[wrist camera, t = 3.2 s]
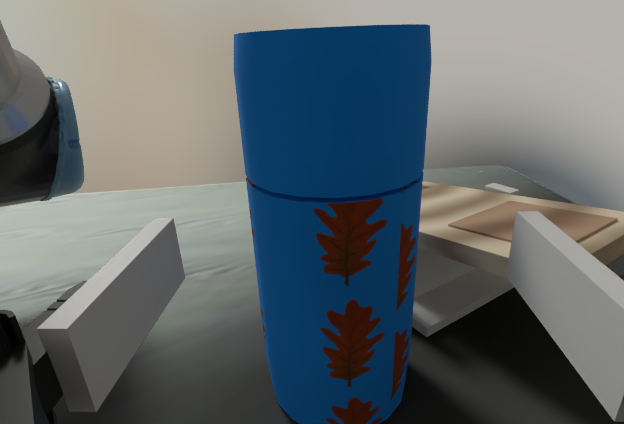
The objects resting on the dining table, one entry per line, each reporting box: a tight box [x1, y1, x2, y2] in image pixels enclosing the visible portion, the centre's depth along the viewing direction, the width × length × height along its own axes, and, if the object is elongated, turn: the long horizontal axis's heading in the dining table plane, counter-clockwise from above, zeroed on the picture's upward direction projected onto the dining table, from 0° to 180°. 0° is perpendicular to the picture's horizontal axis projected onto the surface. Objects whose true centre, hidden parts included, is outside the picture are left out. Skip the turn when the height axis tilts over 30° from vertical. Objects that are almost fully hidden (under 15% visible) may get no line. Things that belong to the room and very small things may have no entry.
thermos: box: [234, 25, 431, 424], centre depth 26 cm, size 11×11×25 cm
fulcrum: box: [412, 183, 519, 337], centre depth 41 cm, size 10×18×9 cm, turn 123°
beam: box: [418, 181, 624, 279], centre depth 39 cm, size 28×14×5 cm, turn 33°
